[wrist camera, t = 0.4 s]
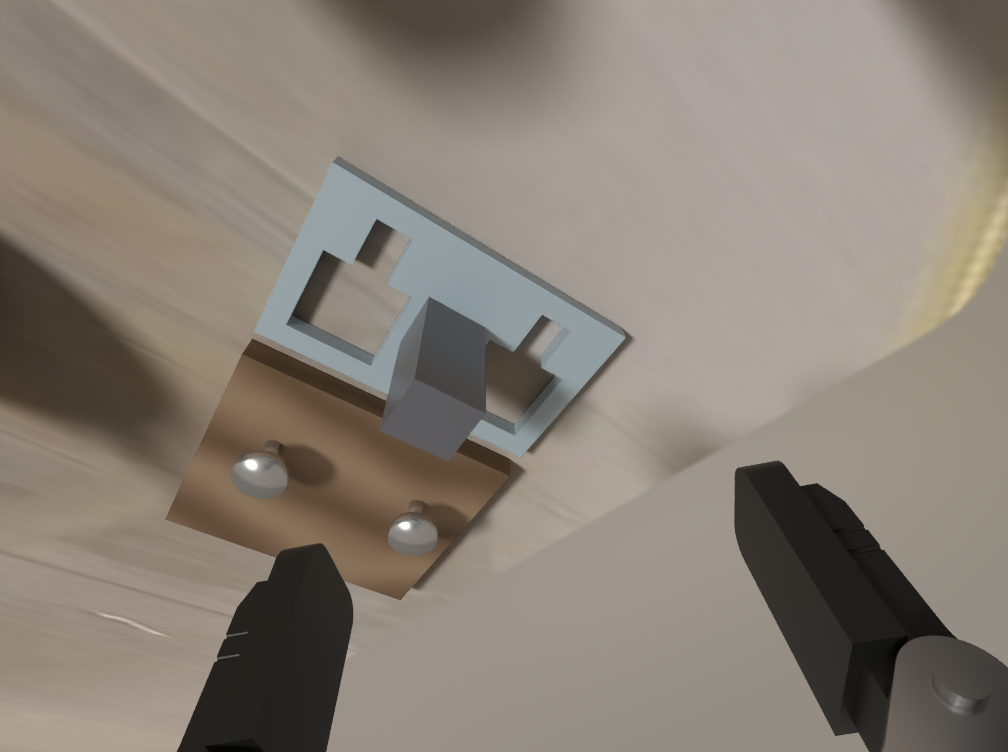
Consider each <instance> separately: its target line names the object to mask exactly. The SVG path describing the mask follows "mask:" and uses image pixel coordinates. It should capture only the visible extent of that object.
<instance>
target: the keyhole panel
mask: <svg viewBox="0 0 1008 752" xmlns="http://www.w3.org/2000/svg"><path fill="white" fill-rule="evenodd" d="M376 219H378V220H379V221H381V222H383V223H385V224H386V225H388V226H390V227H392V228H393V229H395V230H397V231H398V232H400V233H402V234H404V235H405V236H407V237H409V238H411V239H410V241H409V243H408V245H407V246H406V248H405V250H404V251H403V253H402V255H401V257H400V258H399V260H398V262H397V264H396V265H395V267H394V269H393V270H392V272H391V274H390V276H389V279H388V282H387V285H389V286H391V287H393V288H395V289H397V290H398V291H400V292H402V293H404V294H406V295H408V296H409V297H410V298H409V300H408V302H407V303H406V305H405V307H404V308H403V310H402V312H401V313H400V315H399V316H398V318H397V320H396V321H395V323H394V325H393V326H392V328H391V329H390V331H389V333H388V334H387V336H386V338H385V339H384V341H383V342H382V344H381V346H380V347H379V349H378V351H377V352H376V354H375V356H373V355H371V354H369V353H367V352H365V351H363V350H361V349H359V348H357V347H355V346H353V345H351V344H349V343H347V342H345V341H343V340H341V339H339V338H337V337H335V336H333V335H331V334H329V333H327V332H325V331H323V330H321V329H318V328H316V327H314V326H312V325H310V324H308V323H306V322H304V321H302V320H300V319H298V318H296V317H294V316H292V313H293V311H294V309H295V307H296V305H297V303H298V301H299V299H300V297H301V295H302V293H303V291H304V289H305V287H306V285H307V283H308V281H309V279H310V277H311V275H312V273H313V271H314V269H315V267H316V265H317V263H318V261H319V259H320V257H321V255H322V253H323V251H326V252H328V253H330V254H332V255H334V256H336V257H337V258H339V259H341V260H343V261H345V262H347V263H348V264H350V265H352V264H353V262H354V260H355V258H356V256H357V254H358V252H359V251H360V249H361V247H362V245H363V243H364V241H365V239H366V237H367V236H368V234H369V232H370V230H371V228H372V226H373V224H374V222H375V221H376ZM541 315H544V316H545V317H547V318H549V319H550V320H552V321H554V322H556V323H557V324H559V325H561V326H563V327H564V328H563V330H562V331H561V332H560V333H559V335H558V336H557V337H556V338H555V340H554V341H553V342H552V343H551V345H550V346H549V347H548V348H547V350H546V351H545V352H544V353H543V355H542V356H541V357H540V361H541V368H543V369H544V370H546V371H548V372H550V373H552V374H554V375H555V377H554V378H553V379H552V380H551V382H550V383H549V384H548V385H547V386H546V388H545V389H544V390H543V391H542V392H541V394H540V395H539V396H538V397H537V398H536V400H535V401H534V402H533V403H532V404H531V406H530V407H529V408H528V409H527V410H526V412H525V413H524V414H523V415H522V416H521V418H520V419H519V420H518V421H517V422H516V424H515V425H514V424H512V423H510V422H508V421H506V420H504V419H502V418H500V417H497V416H495V415H493V414H491V413H489V412H487V411H486V354H485V346H486V345H487V344H488V342H489V341H490V340H491V341H493V342H494V343H496V344H498V345H500V346H502V347H504V348H506V349H507V350H509V351H511V352H514V351H515V349H516V348H517V347H518V345H519V344H520V343H521V342H522V340H523V339H524V338H525V336H526V335H527V334H528V332H529V331H530V330H531V329H532V327H533V326H534V325H535V323H536V322H537V321H538V319H539V318H540V317H541ZM254 332H256V333H258V334H260V335H262V336H264V337H266V338H268V339H270V340H273V341H275V342H277V343H279V344H281V345H283V346H285V347H287V348H290V349H292V350H294V351H296V352H298V353H300V354H302V355H304V356H307V357H309V358H311V359H313V360H315V361H317V362H319V363H321V364H324V365H326V366H328V367H330V368H332V369H334V370H336V371H338V372H340V373H343V374H345V375H347V376H349V377H351V378H353V379H355V380H357V381H360V382H362V383H364V384H366V385H368V386H370V387H372V388H374V389H377V390H379V391H381V392H383V393H385V394H387V395H388V396H387V400H386V405H385V409H384V413H383V417H382V422H381V426H380V430H379V431H382V432H384V433H386V434H388V435H391V436H393V437H395V438H397V439H399V440H402V441H404V442H406V443H408V444H411V445H413V446H415V447H417V448H420V449H422V450H424V451H426V452H429V453H431V454H433V455H435V456H438V457H440V458H442V459H444V460H447V461H449V460H450V458H451V457H452V456H453V455H454V453H455V452H456V451H457V450H458V448H459V447H460V446H461V444H462V443H463V442H464V441H465V439H466V438H467V437H468V436H469V434H472V435H474V436H476V437H478V438H481V439H483V440H485V441H487V442H489V443H491V444H493V445H495V446H498V447H500V448H502V449H504V450H506V451H508V452H510V453H512V454H515V455H517V456H519V457H522V456H523V454H524V453H525V452H526V451H527V450H528V449H529V448H530V446H531V445H532V444H533V443H534V442H535V441H536V440H537V438H538V437H539V436H540V435H541V434H542V433H543V432H544V431H545V429H546V428H547V427H548V426H549V425H550V424H551V423H552V421H553V420H554V419H555V418H556V417H557V416H558V415H559V413H560V412H561V411H562V410H563V409H564V408H565V407H566V405H567V404H568V403H569V402H570V401H571V400H572V399H573V397H574V396H575V395H576V394H577V393H578V392H579V391H580V389H581V388H582V387H583V386H584V385H585V384H586V383H587V381H588V380H589V379H590V378H591V377H592V376H593V375H594V373H595V372H596V371H597V370H598V369H599V368H600V367H601V366H602V364H603V363H604V362H605V361H606V360H607V359H608V358H609V356H610V355H611V354H612V353H613V352H614V351H615V350H616V348H617V347H618V346H619V345H620V344H621V343H622V342H623V340H624V339H625V338H626V337H625V334H624V332H623V329H622V328H621V327H619V326H618V325H616V324H614V323H613V322H611V321H609V320H608V319H606V318H604V317H603V316H601V315H599V314H598V313H596V312H594V311H593V310H591V309H590V308H588V307H586V306H585V305H583V304H581V303H580V302H578V301H576V300H575V299H573V298H571V297H570V296H568V295H566V294H565V293H563V292H561V291H560V290H558V289H556V288H555V287H553V286H551V285H550V284H548V283H546V282H545V281H543V280H541V279H540V278H538V277H536V276H535V275H533V274H532V273H530V272H528V271H527V270H525V269H523V268H522V267H520V266H518V265H517V264H515V263H513V262H512V261H510V260H508V259H507V258H505V257H503V256H502V255H500V254H498V253H497V252H495V251H493V250H492V249H490V248H488V247H487V246H485V245H483V244H482V243H480V242H479V241H477V240H475V239H474V238H472V237H470V236H469V235H467V234H465V233H464V232H462V231H460V230H459V229H457V228H455V227H454V226H452V225H450V224H449V223H447V222H445V221H444V220H442V219H440V218H439V217H437V216H435V215H434V214H432V213H430V212H429V211H427V210H425V209H424V208H422V207H421V206H419V205H417V204H416V203H414V202H412V201H411V200H409V199H407V198H406V197H404V196H402V195H401V194H399V193H397V192H396V191H394V190H392V189H391V188H389V187H387V186H386V185H384V184H382V183H381V182H379V181H377V180H376V179H374V178H372V177H371V176H369V175H367V174H366V173H364V172H363V171H361V170H359V169H358V168H356V167H354V166H353V165H351V164H349V163H348V162H346V161H344V160H343V159H341V158H339V157H337V158H336V159H335V160H334V161H333V162H332V165H331V167H330V169H329V171H328V173H327V175H326V177H325V180H324V182H323V184H322V186H321V188H320V190H319V192H318V195H317V197H316V199H315V201H314V203H313V205H312V207H311V210H310V212H309V214H308V216H307V218H306V220H305V222H304V225H303V227H302V229H301V231H300V233H299V235H298V237H297V240H296V242H295V244H294V246H293V248H292V250H291V252H290V255H289V257H288V259H287V261H286V263H285V265H284V268H283V270H282V272H281V274H280V276H279V278H278V280H277V283H276V285H275V287H274V289H273V291H272V293H271V295H270V298H269V300H268V302H267V304H266V306H265V308H264V310H263V313H262V315H261V317H260V319H259V321H258V323H257V325H256V328H255V330H254Z"/></svg>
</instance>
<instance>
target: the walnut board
mask: <svg viewBox="0 0 1008 752" xmlns="http://www.w3.org/2000/svg"><path fill="white" fill-rule="evenodd" d="M385 405H386V401H384V400H382V399H380V398H377V397H375V396H373V395H371V394H369V393H367V392H365V391H362V390H360V389H358V388H356V387H354V386H352V385H350V384H347V383H345V382H343V381H341V380H339V379H337V378H334V377H332V376H330V375H328V374H326V373H324V372H322V371H319V370H317V369H315V368H313V367H311V366H309V365H307V364H304V363H302V362H300V361H298V360H296V359H294V358H292V357H289V356H287V355H285V354H283V353H281V352H279V351H277V350H274V349H272V348H270V347H268V346H266V345H264V344H262V343H259V342H257V341H255V340H253V339H252V340H251V342H250V343H249V345H248V346H247V348H246V349H245V351H244V352H243V354H242V355H241V358H240V360H239V362H238V364H237V366H236V368H235V370H234V373H233V375H232V377H231V379H230V381H229V383H228V386H227V388H226V390H225V392H224V394H223V396H222V398H221V401H220V403H219V405H218V407H217V409H216V411H215V413H214V416H213V418H212V420H211V422H210V424H209V426H208V429H207V431H206V433H205V435H204V437H203V439H202V441H201V444H200V446H199V448H198V450H197V452H196V454H195V457H194V459H193V461H192V463H191V465H190V467H189V469H188V472H187V474H186V476H185V478H184V480H183V482H182V484H181V487H180V489H179V491H178V493H177V495H176V497H175V500H174V502H173V504H172V506H171V508H170V510H169V512H168V515H167V517H166V519H165V520H168V521H171V522H174V523H177V524H180V525H183V526H186V527H189V528H192V529H194V530H197V531H200V532H203V533H206V534H209V535H212V536H215V537H218V538H221V539H224V540H226V541H229V542H232V543H235V544H238V545H241V546H244V547H247V548H250V549H253V550H256V551H259V552H261V553H264V554H267V555H270V556H273V557H276V558H277V555H278V554H279V553H280V552H281V551H282V550H284V549H290V548H295V547H301V546H306V545H311V544H317V543H322V544H323V545H324V546H325V547H326V548H327V550H328V552H329V554H330V556H331V558H332V559H333V561H334V563H335V565H336V567H337V569H338V571H339V573H340V575H341V577H342V579H343V581H346V582H349V583H352V584H355V585H358V586H361V587H363V588H366V589H369V590H372V591H375V592H378V593H381V594H384V595H387V596H390V597H393V598H396V599H398V600H401V599H402V598H403V597H404V595H405V594H406V593H407V592H408V591H409V590H410V589H411V588H412V586H413V585H414V584H415V583H416V582H417V581H418V580H419V579H420V577H421V576H422V575H423V574H424V573H425V572H426V571H427V569H428V568H429V567H430V566H431V565H432V564H433V563H434V562H435V560H436V559H437V558H438V557H439V556H440V555H441V554H442V553H443V551H444V550H445V549H446V548H447V547H448V546H449V545H450V543H451V542H452V541H453V540H454V539H455V538H456V537H457V536H458V534H459V533H460V532H461V531H462V530H463V529H464V528H465V526H466V525H467V524H468V523H469V522H470V521H471V520H472V519H473V517H474V516H475V515H476V514H477V513H478V512H479V511H480V510H481V508H482V507H483V506H484V505H485V504H486V503H487V502H488V500H489V499H490V498H491V497H492V496H493V495H494V494H495V493H496V491H497V490H498V489H499V488H500V487H501V486H502V485H503V484H504V482H505V481H506V480H507V479H508V478H509V477H510V468H509V459H508V458H506V457H504V456H502V455H500V454H497V453H495V452H493V451H491V450H489V449H487V448H485V447H482V446H480V445H478V444H476V443H474V442H472V441H470V440H467V439H465V441H464V442H463V443H462V444H461V446H460V447H459V448H458V450H457V451H456V452H455V453H454V455H453V456H452V457H451V458H450V460H449V461H447V460H444V459H442V458H440V457H438V456H435V455H433V454H431V453H429V452H426V451H424V450H422V449H420V448H417V447H415V446H413V445H411V444H408V443H406V442H404V441H402V440H399V439H397V438H395V437H393V436H391V435H388V434H386V433H384V432H382V431H379V430H380V426H381V422H382V417H383V413H384V409H385Z"/></svg>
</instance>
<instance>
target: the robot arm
mask: <svg viewBox="0 0 1008 752" xmlns="http://www.w3.org/2000/svg"><path fill="white" fill-rule="evenodd" d="M734 520H735V521H734V523H735V533H736V538H737V542H738V545H739V549H740V551H741V554H742V556H743V558H744V560H745V562H746V564H747V566H748V568H749V570H750V572H751V574H752V576H753V578H754V580H755V581H756V583H757V586H758V587H759V589H760V591H761V593H762V595H763V597H764V599H765V601H766V603H767V605H768V607H769V609H770V611H771V612H772V614H773V616H774V618H775V620H776V622H777V624H778V626H779V628H780V630H781V632H782V634H783V636H784V637H785V640H786V641H787V643H788V645H789V647H790V649H791V651H792V653H793V655H794V657H795V659H796V661H797V663H798V665H799V667H800V668H801V670H802V672H803V674H804V676H805V678H806V680H807V682H808V684H809V686H810V688H811V690H812V691H813V693H814V696H815V697H816V699H817V701H818V703H819V705H820V707H821V709H822V711H823V713H824V715H825V717H826V719H827V721H828V723H829V724H830V726H831V728H832V730H833V732H834V734H835V736H838V735H844V734H851V733H858V732H859V734H860V736H861V738H862V739H863V741H864V743H865V745H866V747H867V748H868V750H869V752H1008V668H1007V667H1006V666H1005V665H1004V664H1003V663H1002V662H1000V661H999V660H998V659H997V658H995V657H994V656H992V655H991V654H989V653H987V652H986V651H984V650H982V649H981V648H979V647H977V646H975V645H972V644H970V643H967V642H965V641H962V640H958V639H957V638H956V637H955V636H954V635H952V633H951V632H950V631H949V630H948V629H947V628H946V627H945V626H944V625H943V623H942V622H941V621H940V619H939V618H938V617H937V616H936V615H935V613H934V612H933V611H932V610H931V608H930V607H929V606H928V605H927V603H926V602H925V601H924V600H923V598H922V597H921V596H920V595H919V593H918V592H917V591H916V589H915V588H914V587H913V586H912V584H911V583H910V582H909V581H908V580H907V579H906V577H905V576H904V575H903V573H902V572H901V571H900V570H899V568H898V567H897V566H896V565H895V563H894V562H893V561H892V560H891V558H890V557H889V556H888V555H887V553H886V552H885V551H884V550H881V549H880V545H879V543H878V542H877V541H876V540H875V538H874V537H873V536H872V535H871V533H870V532H869V531H868V530H865V528H864V525H863V523H862V522H861V521H860V520H859V518H858V517H857V516H856V515H855V513H854V512H853V511H852V510H851V508H850V507H849V506H848V505H847V503H846V502H845V501H843V500H842V499H840V498H839V497H837V496H836V495H834V494H833V493H831V492H830V491H828V490H827V489H825V488H823V487H822V486H820V485H819V484H817V483H816V484H810V485H805V486H799V484H798V483H797V481H796V480H795V479H794V478H793V476H792V475H791V473H790V472H789V470H788V469H787V468H786V467H785V465H784V464H783V463H782V462H780V461H773V462H767V463H762V464H756V465H751V466H745V467H741V468H737V469H736V472H735V519H734ZM352 624H353V604H352V599H351V595H350V592H349V590H348V588H347V586H346V584H345V582H344V581H343V579H342V577H341V575H340V573H339V571H338V569H337V567H336V565H335V563H334V561H333V559H332V558H331V556H330V554H329V552H328V550H327V548H326V547H325V546H324V545H323V544H322V543H317V544H311V545H306V546H301V547H295V548H290V549H284V550H282V551H281V552H280V553H279V554H278V555H277V558H276V560H275V563H274V565H273V568H272V570H271V573H270V576H269V578H268V580H267V581H262V582H257V583H256V585H255V586H254V587H253V588H252V590H251V591H250V592H249V593H248V595H247V596H246V597H245V598H244V600H243V601H242V602H241V603H240V605H239V606H238V607H237V609H236V612H235V614H234V617H233V619H232V621H231V624H230V626H229V629H228V631H227V633H226V635H227V638H226V639H224V641H223V643H222V645H221V648H220V650H219V653H218V655H217V658H218V660H217V662H214V665H213V667H212V669H211V672H210V674H209V677H208V679H207V681H206V684H205V686H204V689H203V691H202V693H201V696H200V698H199V701H198V703H197V705H196V708H195V710H194V713H193V715H192V717H191V720H190V722H189V725H188V727H187V729H186V732H185V734H184V737H183V739H182V741H181V744H180V746H179V748H178V750H177V752H326V750H327V745H328V740H329V735H330V730H331V725H332V721H333V716H334V711H335V706H336V701H337V696H338V692H339V687H340V682H341V678H342V672H343V668H344V663H345V658H346V654H347V649H348V644H349V639H350V634H351V629H352Z"/></svg>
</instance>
